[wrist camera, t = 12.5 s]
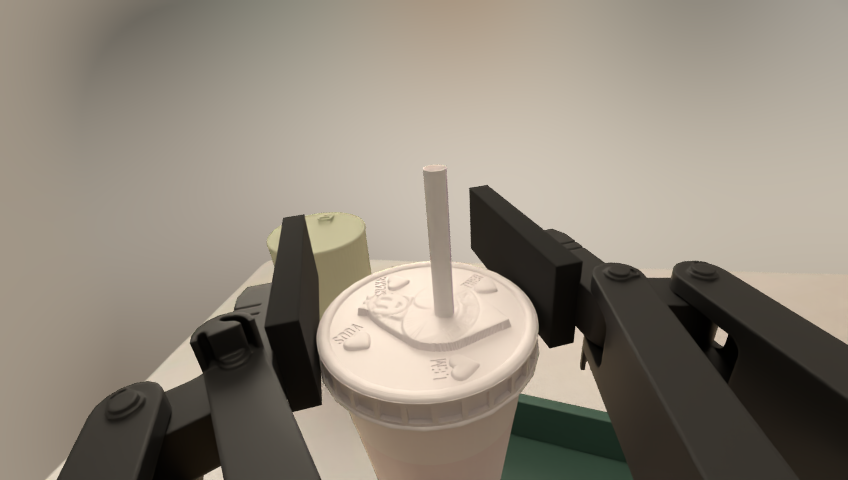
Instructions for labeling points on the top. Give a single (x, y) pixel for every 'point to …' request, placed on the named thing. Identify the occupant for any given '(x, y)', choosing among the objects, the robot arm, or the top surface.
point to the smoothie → (431, 359)
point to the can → (333, 252)
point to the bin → (562, 443)
